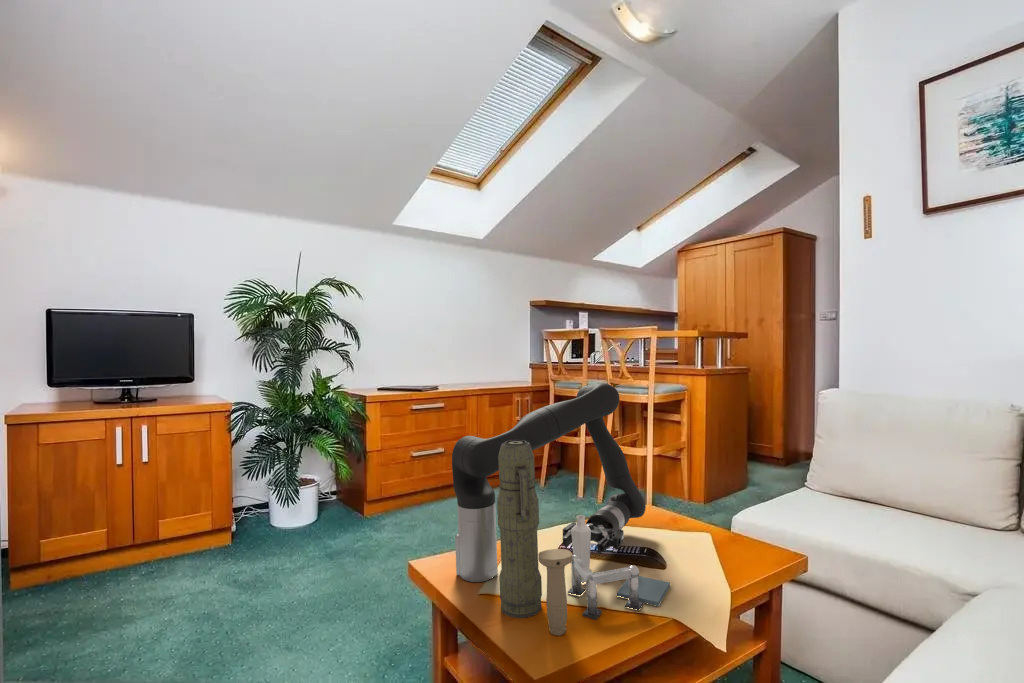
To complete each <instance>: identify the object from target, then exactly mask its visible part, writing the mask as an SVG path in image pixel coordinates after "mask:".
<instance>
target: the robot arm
mask: <svg viewBox="0 0 1024 683" xmlns="http://www.w3.org/2000/svg"><path fill="white" fill-rule="evenodd" d="M619 403H620V394H619V392H618V390H617V389H616V388H615V387H614V386H613V385H611V384H608V383H604V382H603V383H600V382H599V383H594V384H588V385H584V386H582V387H580V388H579V390H578V391H577V394H576V397H575V398H572V399H568V400H563V401H560V402H554V403H551V404H549V405H545V406H543V407H540V408H537V409H535V410H533V411H530V412H529V413H527V414H525V415H524V416H523V417H521V419H519V420H518V422H516V424H515V425H514V426H513V428H511V429H509V430H508V431H506V432H504V433H501V434H499V435H495V436H492V437H489V438H482V437H478V436H475V435H466V436H463V437H461V438H459V439H458V440H457V441H456V443H455V444H454V446H453V449H452V453H451V454H452V455H451V470H452V484H453V490H454V495H455V496H456V500H457V501H456V502H457V526H458V527H457V528H458V533H457V534H456V535H455V537H454V538H455V539H454V541H455V568H456V570H455V573H456V575H457V576H459V577H460V578H461V579H462V580H464V581H466V582H471V583H480V582H481V583H482V582H487V581H490V580H491V579H490V578H492V577H494V576H495V575H496V576H497V575H498V573H499V571H498V570H499V569H498V546H497V544H498V543H497V542H498V541H497V537H498V536H497V518H496V517H497V516H496V514H497V512H496V511H497V510H496V509H497V508H496V493H495V490H494V488H492V486H491V485H490V483H489V480H488V478H487V477H490V476H492V475H493V474H495V473H497V472H499V459H498V456H499V452H500V448H501V445H502V444H503V443H505V442H506V441H510V440H524V441H526V442H528V443H530V446H531V448H532V451H535V450H537V449H539V448H541V447H544V446H545V445H548V444H550V443H552V442H554V441H555V440H559V439H560V438H561V437H563V436H565V435H567V434H569V433H571V432H572V431H575V430H576V429H578V428H580V427H581V426H583V425H584V424H585V426H586V429H587V431H588V433H589V435H590V438H591V440H592V441H593V444H594V447H595V449H596V451H597V453H598V456H599V461H600V463H601V466H602V470H603V474H604V477H605V480H606V484H607V486H608V487H609V488H613V489H618V490H621V491H623V493H622V492H621V493H614V494H611V495H609V496H608V498H607V501H606V505H604V506H603V507H601V508H600V509H597V511H595V512H594V513H593V514H592V515H590V517H588V519H587V521H586V522H585V525H587V526H588V527H589V528H590V529H591V540H590V542H594V543H597V545H596V546H597V547H596V549H597V550H596V551H597V553H599V554H602V553H603V552H605V551H606V550H608V549H611V547H612V548H613V549H614V550H618V549H619V548H620V547H621V546H622V544H623V543H624V541H625V537H624V536H625V535H624V530H623V528H624V527H626V525H627V524H628V522H629V521H630V519H639V518H641V517H642V516H644V514H645V513H646V501H645V499H644V497H643V494H642V493H641V491H640V490H639V489H638V487H637V485H636V483H635V482H634V480H633V477H632V476H631V473H630V469H629V466H628V462H627V460H626V459H627V458H626V456H625V454H624V452H623V450H622V448H621V447H620V445H619V444H618V442H617V441H616V440H615V438H614V437H613V435H612V434H611V432H610V430H609V429H608V427H607V425H606V422H605V419H604V417H606V416H609V415H611V414H613V413H614V412H615V411H616V410H617V409H618V406H619V405H620V404H619ZM575 525H577V522H575V521H574V522H571V523H569V524H568V525H566V526H565V527H563V528H562V545H563V547H568V546H570V545H571V544H572V535H571V529H572V528H573V527H574V526H575ZM497 572H498V573H497ZM496 576H495V577H496ZM495 577H494V578H495ZM489 579H490V580H489ZM492 579H493V578H492Z"/></svg>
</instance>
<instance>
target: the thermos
mask: <svg viewBox="0 0 1024 683" xmlns="http://www.w3.org/2000/svg"><path fill="white" fill-rule="evenodd" d="M533 451H534V450H533ZM533 451H532V448H531V446H530V443H528V442H526V441H524V440H510V441H506V442H505V443H503V444H502V445H501V448H500V452H499V456H498V459H499V470H498V480H499V483H500V484H499V491H498V495H497V498H496V506H497V507H496V509H497V510H496V511H497V512H496V514H497V527H498V528H499V533H500V535H499V536H500V559H501V560H500V562H501V563H500V564H501V566H500V567H501V570H500V573H499V575H498V578H499V581H498V582H499V598H500V610H501V612H502V613H503V614H504V615H505V616H507V617H510V618H513V619H514V618H517V619H523V618H524V619H526V618H531V617H534V616H535V615H537V614H539V613H540V612H541V610H542V606H543V605H542V597H543V587H542V585H543V584H542V583H543V582H542V574H541V572H540V569H539V549H538V548H539V546H538V545H539V544H538V543H539V542H538V528H539V525H540V510H539V508H540V505H539V504H540V503H539V497H538V495H537V492H536V484H535V478H536V476H535V471H536V470H535V455H534V452H533Z"/></svg>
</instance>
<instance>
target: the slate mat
mask: <svg viewBox="0 0 1024 683" xmlns="http://www.w3.org/2000/svg"><path fill="white" fill-rule="evenodd" d="M670 588H671V582H670V581H665V580H662V579H661V580H660V579H655V578H652V577H651V578H650V577H646V576H641V575H639V576H638V592H639V601H642V602H643V603H648V604H652V605H656V606H658V607H659V606H660V605H661V603H662V601H663V600H662V599H664V598H665V596H666V595H667V593H668V591H669V589H670ZM665 594H666V595H665ZM617 596H621V597H624V598H629V585H628V579H625V581H624V583H622V585H621V586H620V588H618V590H617V591H616V597H617ZM663 597H664V598H663ZM660 602H661V603H660ZM648 604H647V605H648ZM659 604H660V605H659ZM652 605H651V606H652ZM656 606H655V607H656Z"/></svg>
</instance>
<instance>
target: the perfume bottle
mask: <svg viewBox="0 0 1024 683" xmlns="http://www.w3.org/2000/svg"><path fill="white" fill-rule="evenodd" d="M575 518H576V525H575V526H574V527H573V528H572V529H571V535H572V543H571V544H572V555H573V554H578V555H579V556H580V557H581V559H582V560H583V562H584V563H585V564H586V565H587V566H588V567H589V569H590V568H591V567H590V562H591V541H590V540H591V529H590V528H589V527H588V526H587V525H585V524H586V521H585V518H586V516H585V515H583V514H582V515H579V514H578V515H576V516H575ZM581 582H582V583H584V582H586V581H585V580H584V578H583V577H582V576H581Z"/></svg>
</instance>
